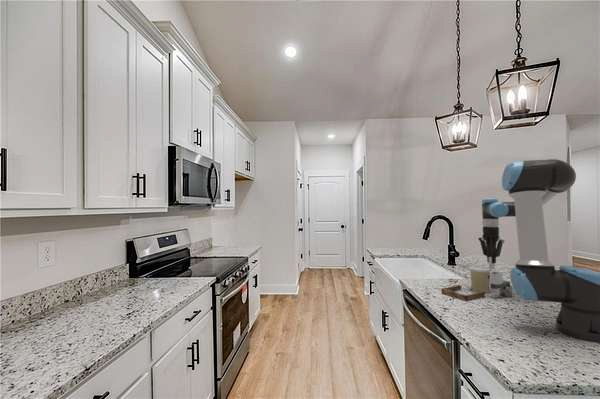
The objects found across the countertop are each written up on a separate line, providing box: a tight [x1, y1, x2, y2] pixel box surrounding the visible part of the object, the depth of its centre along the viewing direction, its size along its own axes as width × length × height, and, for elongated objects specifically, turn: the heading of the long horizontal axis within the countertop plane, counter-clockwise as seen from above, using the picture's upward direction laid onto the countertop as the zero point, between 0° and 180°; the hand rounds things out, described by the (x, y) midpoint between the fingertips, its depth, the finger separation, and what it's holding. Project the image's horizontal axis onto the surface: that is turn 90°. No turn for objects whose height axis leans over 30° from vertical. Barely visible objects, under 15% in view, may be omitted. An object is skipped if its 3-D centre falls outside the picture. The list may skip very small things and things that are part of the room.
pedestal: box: [499, 285, 513, 298], centre depth 146 cm, size 5×5×5 cm
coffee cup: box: [469, 266, 491, 294], centre depth 155 cm, size 9×9×12 cm
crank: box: [490, 271, 511, 290], centre depth 145 cm, size 12×4×7 cm, turn 115°
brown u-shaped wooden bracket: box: [441, 284, 486, 302], centre depth 149 cm, size 14×14×2 cm
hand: (491, 268), depth 160 cm, fingers closed
